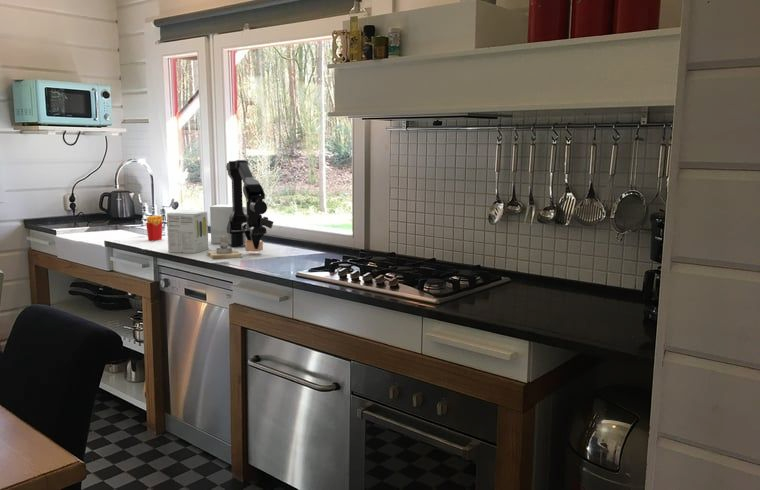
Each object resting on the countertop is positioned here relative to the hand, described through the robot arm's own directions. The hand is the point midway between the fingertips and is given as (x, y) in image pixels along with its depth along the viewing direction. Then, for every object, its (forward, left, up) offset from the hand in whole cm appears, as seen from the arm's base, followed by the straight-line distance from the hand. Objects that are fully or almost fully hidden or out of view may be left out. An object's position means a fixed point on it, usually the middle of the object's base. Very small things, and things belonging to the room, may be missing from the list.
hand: (254, 247), depth 278 cm
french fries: (-61, -33, -3) cm, 69 cm away
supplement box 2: (-39, 0, -3) cm, 39 cm away
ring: (0, 0, -1) cm, 1 cm away
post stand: (0, -13, -3) cm, 13 cm away
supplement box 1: (-21, -24, -3) cm, 32 cm away
